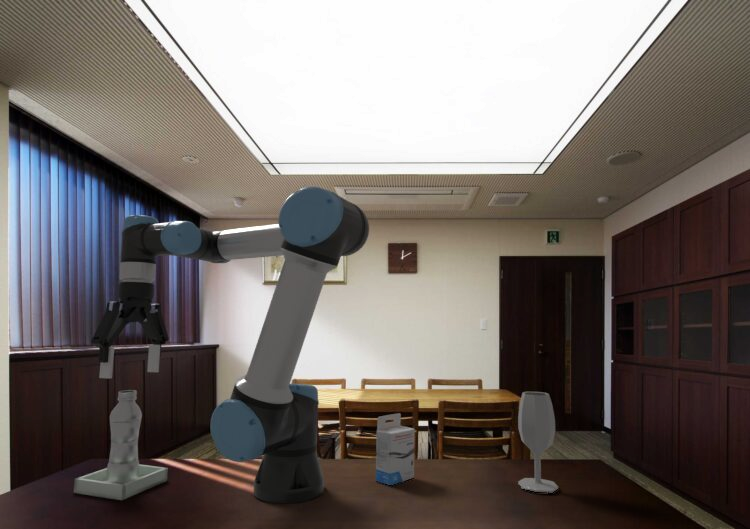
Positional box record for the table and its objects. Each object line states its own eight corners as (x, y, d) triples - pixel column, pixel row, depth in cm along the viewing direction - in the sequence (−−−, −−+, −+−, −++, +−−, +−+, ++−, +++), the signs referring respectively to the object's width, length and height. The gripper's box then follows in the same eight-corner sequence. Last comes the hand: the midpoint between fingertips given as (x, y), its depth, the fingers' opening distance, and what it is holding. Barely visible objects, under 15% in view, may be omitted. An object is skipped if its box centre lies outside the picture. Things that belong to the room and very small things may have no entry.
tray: (167, 480, 110) (167, 467, 110) (121, 500, 98) (122, 486, 98) (122, 474, 114) (123, 462, 114) (73, 492, 102) (74, 478, 102)
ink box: (390, 487, 108) (390, 420, 109) (374, 481, 111) (375, 416, 113) (415, 479, 114) (415, 415, 115) (399, 474, 117) (400, 412, 119)
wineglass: (516, 491, 106) (514, 394, 108) (520, 479, 114) (518, 389, 116) (558, 497, 103) (555, 397, 105) (559, 484, 111) (556, 392, 113)
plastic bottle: (125, 490, 102) (131, 394, 104) (97, 487, 103) (104, 393, 105) (145, 479, 108) (150, 389, 110) (119, 476, 110) (124, 388, 111)
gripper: (162, 286, 124) (157, 369, 122) (76, 277, 101) (68, 380, 98) (186, 285, 122) (181, 370, 119) (104, 276, 98) (96, 381, 96)
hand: (130, 375), depth 109 cm, fingers open, 13 cm apart
